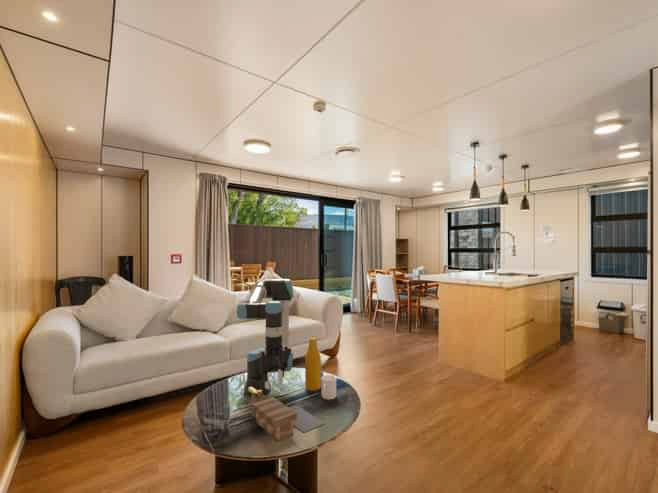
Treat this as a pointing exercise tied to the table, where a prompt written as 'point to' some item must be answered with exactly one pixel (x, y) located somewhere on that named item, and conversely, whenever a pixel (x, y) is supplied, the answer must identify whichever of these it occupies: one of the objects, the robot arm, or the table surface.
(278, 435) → the toolbox
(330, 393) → the mug
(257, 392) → the key
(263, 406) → the lid
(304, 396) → the table surface
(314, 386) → the beer bottle
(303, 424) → the felt mat
